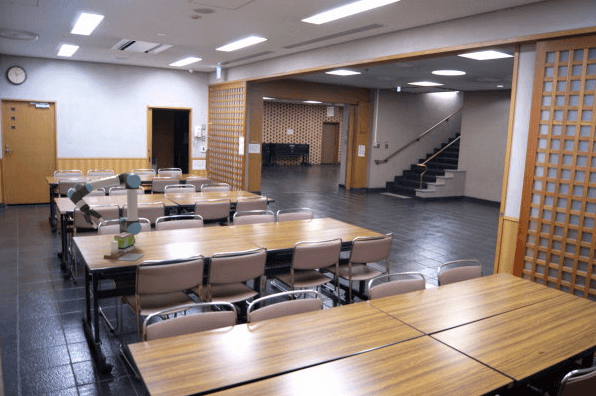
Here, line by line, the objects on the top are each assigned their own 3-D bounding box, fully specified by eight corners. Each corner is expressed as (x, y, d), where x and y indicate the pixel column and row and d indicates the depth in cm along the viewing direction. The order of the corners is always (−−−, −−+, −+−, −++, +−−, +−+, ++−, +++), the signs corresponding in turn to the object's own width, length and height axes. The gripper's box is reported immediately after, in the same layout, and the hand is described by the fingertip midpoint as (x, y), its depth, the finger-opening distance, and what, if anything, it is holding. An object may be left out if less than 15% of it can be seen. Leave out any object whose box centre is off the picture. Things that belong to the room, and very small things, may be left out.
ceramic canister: (112, 252, 379) (112, 240, 378) (119, 252, 379) (119, 240, 377) (109, 254, 374) (109, 242, 372) (116, 254, 373) (115, 242, 372)
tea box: (124, 253, 385) (124, 236, 383) (113, 252, 387) (113, 235, 385) (134, 249, 400) (134, 232, 398) (123, 248, 402) (123, 231, 400)
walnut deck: (112, 253, 384) (112, 250, 384) (124, 254, 383) (124, 251, 383) (103, 258, 370) (103, 255, 370) (116, 259, 369) (116, 256, 369)
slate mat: (127, 254, 385) (127, 253, 385) (143, 255, 384) (143, 254, 384) (117, 260, 367) (117, 259, 367) (134, 261, 366) (134, 260, 366)
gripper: (88, 206, 386) (105, 225, 387) (70, 211, 361) (89, 232, 362) (94, 201, 384) (111, 220, 385) (77, 205, 360) (95, 226, 361)
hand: (100, 226), depth 374 cm, fingers open, 13 cm apart
